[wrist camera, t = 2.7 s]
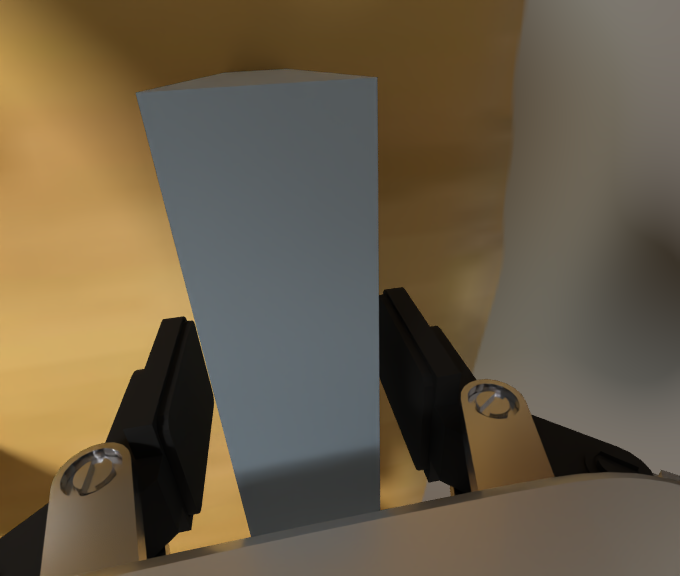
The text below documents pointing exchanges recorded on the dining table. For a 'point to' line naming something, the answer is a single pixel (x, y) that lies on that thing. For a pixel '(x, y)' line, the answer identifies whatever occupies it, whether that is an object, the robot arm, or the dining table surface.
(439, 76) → the dining table surface
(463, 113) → the dining table surface
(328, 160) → the blue-grey notched panel
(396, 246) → the dining table surface
